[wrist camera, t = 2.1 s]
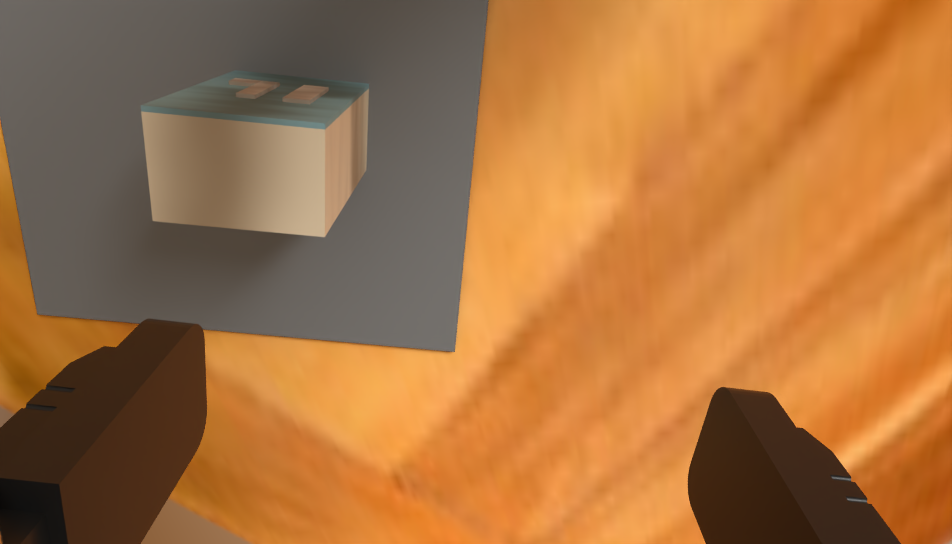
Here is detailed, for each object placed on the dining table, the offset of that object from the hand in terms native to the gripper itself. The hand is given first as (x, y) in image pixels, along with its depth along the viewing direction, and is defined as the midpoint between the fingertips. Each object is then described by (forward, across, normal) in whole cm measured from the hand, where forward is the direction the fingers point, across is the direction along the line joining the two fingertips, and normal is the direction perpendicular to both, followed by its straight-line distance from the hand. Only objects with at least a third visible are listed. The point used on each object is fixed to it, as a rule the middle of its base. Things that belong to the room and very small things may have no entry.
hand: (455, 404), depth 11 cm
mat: (+22, +11, +3) cm, 25 cm away
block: (+22, +8, +1) cm, 24 cm away
